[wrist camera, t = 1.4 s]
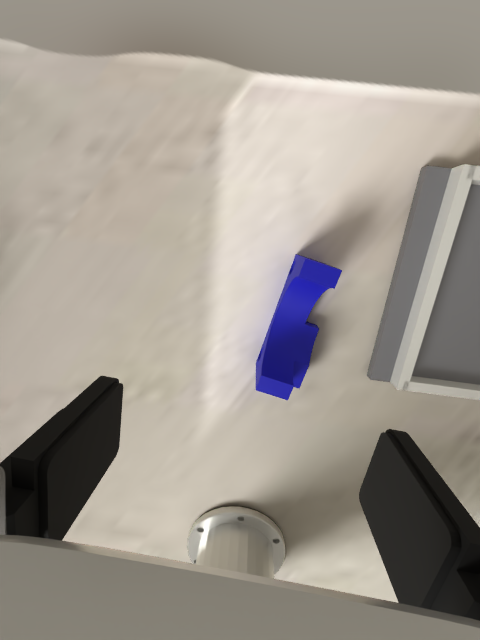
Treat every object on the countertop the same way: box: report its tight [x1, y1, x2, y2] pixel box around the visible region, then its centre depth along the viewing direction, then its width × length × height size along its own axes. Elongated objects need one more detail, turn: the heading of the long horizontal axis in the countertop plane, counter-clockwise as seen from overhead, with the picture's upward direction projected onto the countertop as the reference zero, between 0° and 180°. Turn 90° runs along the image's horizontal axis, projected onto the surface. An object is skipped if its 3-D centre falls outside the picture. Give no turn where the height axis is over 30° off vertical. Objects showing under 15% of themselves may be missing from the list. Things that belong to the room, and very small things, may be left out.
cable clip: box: [256, 254, 342, 400], centre depth 27 cm, size 12×4×6 cm, turn 162°
